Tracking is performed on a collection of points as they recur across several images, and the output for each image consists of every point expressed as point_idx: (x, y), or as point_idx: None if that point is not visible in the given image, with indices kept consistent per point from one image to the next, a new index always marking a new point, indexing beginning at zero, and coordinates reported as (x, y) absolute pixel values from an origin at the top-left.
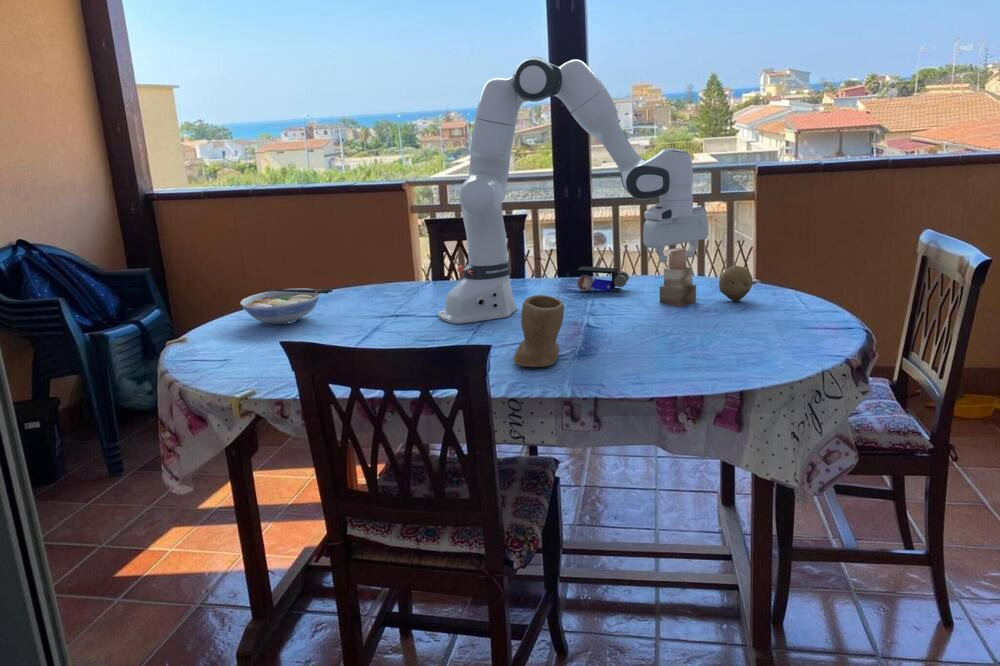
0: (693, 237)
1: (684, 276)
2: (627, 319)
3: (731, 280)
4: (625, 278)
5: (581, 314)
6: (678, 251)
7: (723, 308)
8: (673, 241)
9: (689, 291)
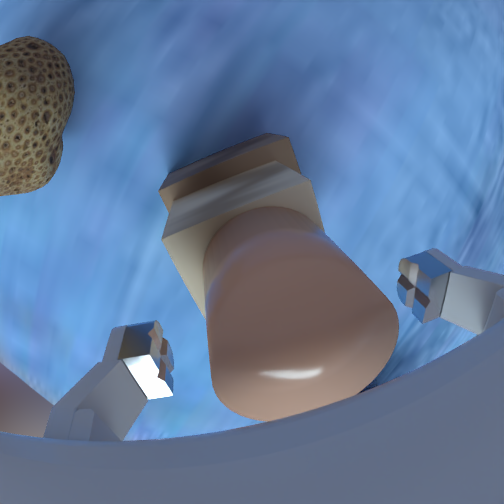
0: (89, 485)
1: (242, 189)
2: (457, 113)
3: (29, 52)
4: None
5: (486, 226)
6: (365, 286)
7: (131, 32)
8: (500, 358)
9: (208, 164)
